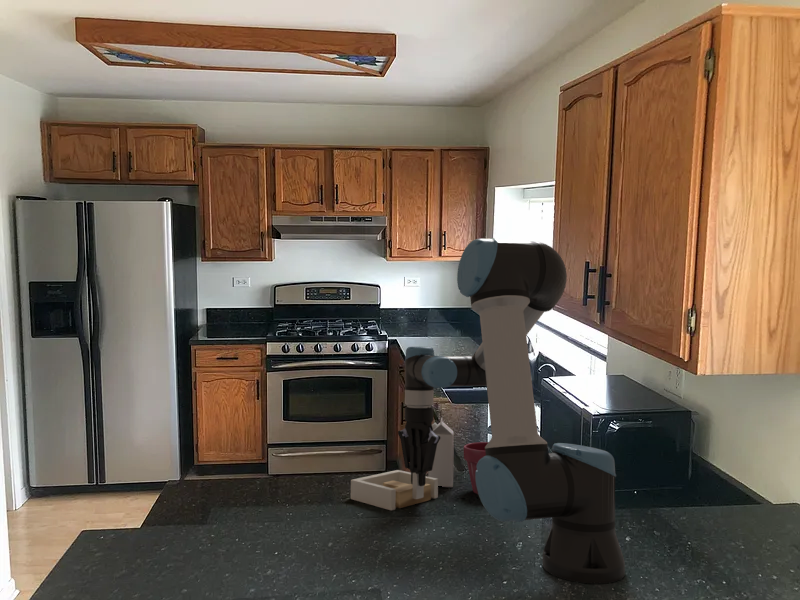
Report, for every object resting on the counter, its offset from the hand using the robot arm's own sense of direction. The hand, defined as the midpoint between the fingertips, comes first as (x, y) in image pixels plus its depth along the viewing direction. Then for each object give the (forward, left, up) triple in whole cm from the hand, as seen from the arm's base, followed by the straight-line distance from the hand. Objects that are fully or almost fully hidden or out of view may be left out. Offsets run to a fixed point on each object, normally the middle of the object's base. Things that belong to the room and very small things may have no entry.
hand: (417, 497), depth 168 cm
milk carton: (+10, -21, -2) cm, 23 cm away
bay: (+8, 0, -2) cm, 8 cm away
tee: (+6, 0, -2) cm, 6 cm away
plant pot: (-5, -24, -2) cm, 25 cm away
